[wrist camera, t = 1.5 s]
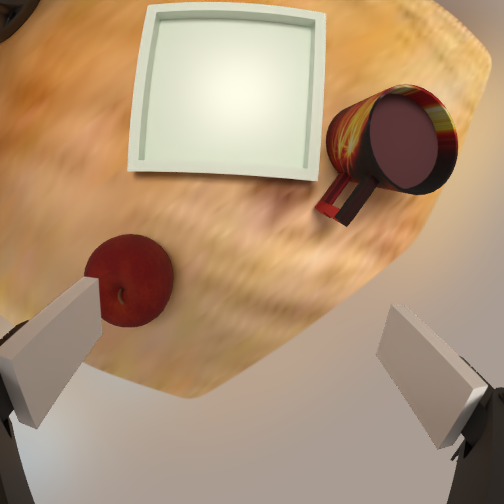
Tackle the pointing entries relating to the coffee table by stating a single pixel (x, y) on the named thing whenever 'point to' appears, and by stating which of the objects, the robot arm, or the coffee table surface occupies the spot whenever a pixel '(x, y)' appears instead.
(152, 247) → the apple
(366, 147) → the mug
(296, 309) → the coffee table surface
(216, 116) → the tray
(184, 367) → the coffee table surface
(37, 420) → the robot arm
